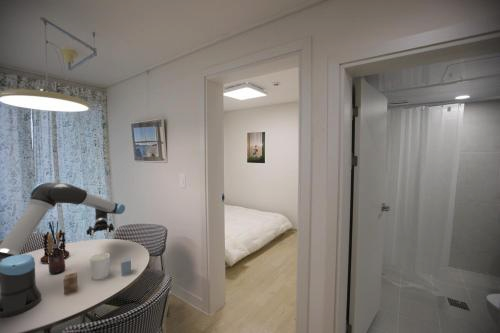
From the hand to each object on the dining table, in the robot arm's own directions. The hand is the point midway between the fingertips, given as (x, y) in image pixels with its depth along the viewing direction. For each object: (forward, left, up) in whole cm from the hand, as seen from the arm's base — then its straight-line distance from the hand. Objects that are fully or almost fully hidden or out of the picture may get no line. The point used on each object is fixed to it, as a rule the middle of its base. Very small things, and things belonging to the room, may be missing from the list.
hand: (100, 234), depth 138 cm
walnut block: (-13, -19, -22) cm, 32 cm away
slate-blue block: (+13, -15, -22) cm, 30 cm away
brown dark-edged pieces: (-27, +31, -22) cm, 47 cm away
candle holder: (0, -11, -22) cm, 25 cm away
